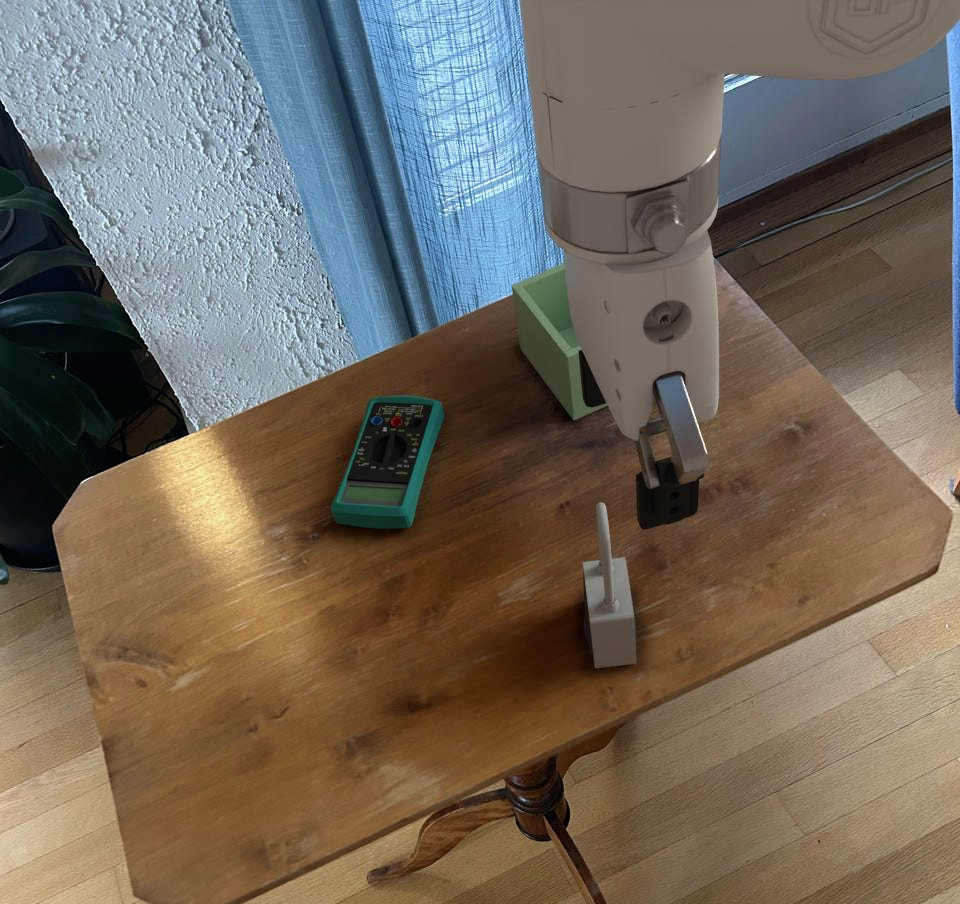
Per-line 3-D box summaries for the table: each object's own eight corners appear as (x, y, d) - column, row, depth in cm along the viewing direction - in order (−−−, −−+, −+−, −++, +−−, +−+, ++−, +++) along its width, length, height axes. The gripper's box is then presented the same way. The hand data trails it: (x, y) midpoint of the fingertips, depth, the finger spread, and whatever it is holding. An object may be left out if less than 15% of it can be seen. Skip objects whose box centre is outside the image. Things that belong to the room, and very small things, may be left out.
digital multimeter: (448, 413, 99) (442, 391, 97) (411, 534, 92) (405, 513, 89) (376, 410, 101) (369, 388, 98) (335, 529, 93) (326, 508, 91)
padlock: (642, 663, 81) (638, 547, 68) (589, 669, 81) (576, 554, 69) (631, 594, 85) (626, 472, 72) (581, 600, 85) (567, 480, 73)
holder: (700, 364, 98) (703, 298, 91) (573, 421, 96) (567, 357, 90) (640, 297, 104) (639, 230, 97) (520, 349, 102) (511, 285, 96)
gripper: (798, 276, 39) (762, 551, 53) (645, 56, 48) (649, 340, 62) (607, 332, 39) (622, 593, 53) (492, 101, 48) (532, 374, 62)
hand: (637, 455), depth 58 cm, fingers open, 9 cm apart
